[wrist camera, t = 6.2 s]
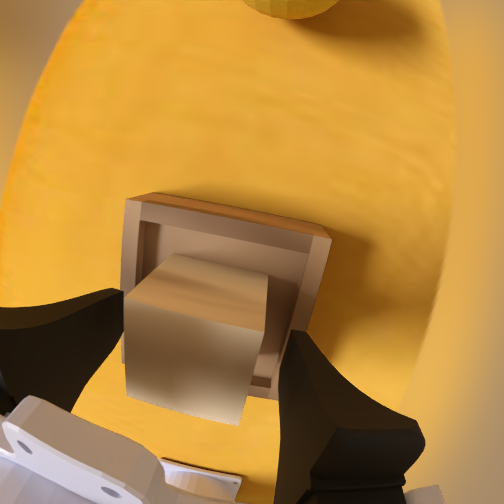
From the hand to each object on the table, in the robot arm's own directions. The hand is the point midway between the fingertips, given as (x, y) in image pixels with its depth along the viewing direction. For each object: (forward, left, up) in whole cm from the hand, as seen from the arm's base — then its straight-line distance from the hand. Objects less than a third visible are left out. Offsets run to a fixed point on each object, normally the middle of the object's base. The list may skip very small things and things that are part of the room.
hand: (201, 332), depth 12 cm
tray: (0, 0, -5) cm, 5 cm away
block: (0, 0, -2) cm, 2 cm away
